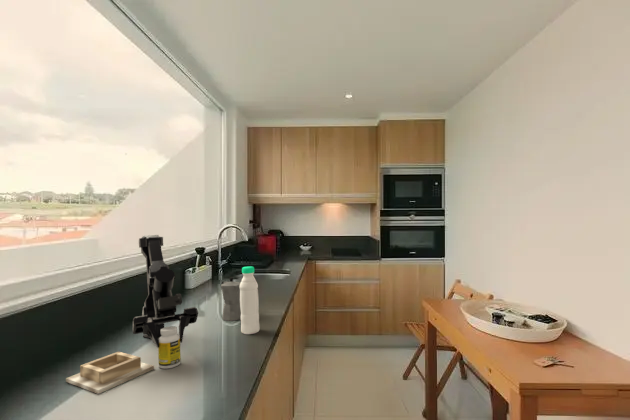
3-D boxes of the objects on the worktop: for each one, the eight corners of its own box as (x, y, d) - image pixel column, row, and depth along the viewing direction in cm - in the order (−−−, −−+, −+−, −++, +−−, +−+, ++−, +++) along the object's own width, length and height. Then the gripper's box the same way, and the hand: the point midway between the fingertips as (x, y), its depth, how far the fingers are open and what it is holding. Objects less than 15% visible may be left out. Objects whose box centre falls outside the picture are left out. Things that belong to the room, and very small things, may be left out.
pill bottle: (172, 369, 102) (171, 332, 102) (154, 368, 103) (153, 331, 103) (184, 361, 108) (183, 325, 108) (167, 360, 109) (166, 325, 109)
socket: (66, 381, 97) (65, 367, 97) (121, 360, 111) (121, 347, 111) (98, 394, 89) (97, 378, 89) (153, 369, 103) (153, 355, 103)
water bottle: (242, 329, 137) (239, 266, 137) (260, 328, 137) (257, 265, 138) (239, 335, 130) (237, 268, 130) (258, 334, 130) (256, 267, 131)
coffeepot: (249, 318, 152) (248, 277, 152) (230, 323, 146) (229, 280, 146) (231, 312, 163) (230, 274, 164) (213, 316, 157) (211, 277, 157)
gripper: (132, 290, 104) (136, 337, 95) (195, 282, 114) (205, 323, 105) (131, 311, 111) (134, 357, 101) (191, 301, 121) (200, 342, 111)
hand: (170, 344), depth 104 cm, fingers closed on pill bottle, 6 cm apart
